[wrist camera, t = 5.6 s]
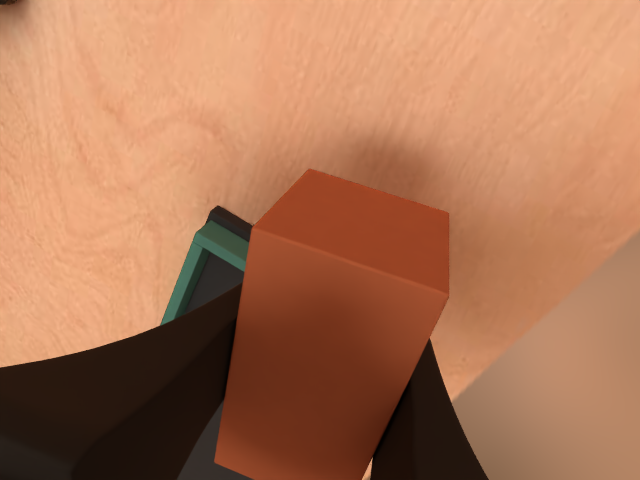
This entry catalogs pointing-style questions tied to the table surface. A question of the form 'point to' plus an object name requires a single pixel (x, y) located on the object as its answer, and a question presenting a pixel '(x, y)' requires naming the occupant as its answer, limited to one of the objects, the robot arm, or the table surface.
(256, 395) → the pad piece
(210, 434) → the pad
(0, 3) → the battery charger
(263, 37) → the table surface
